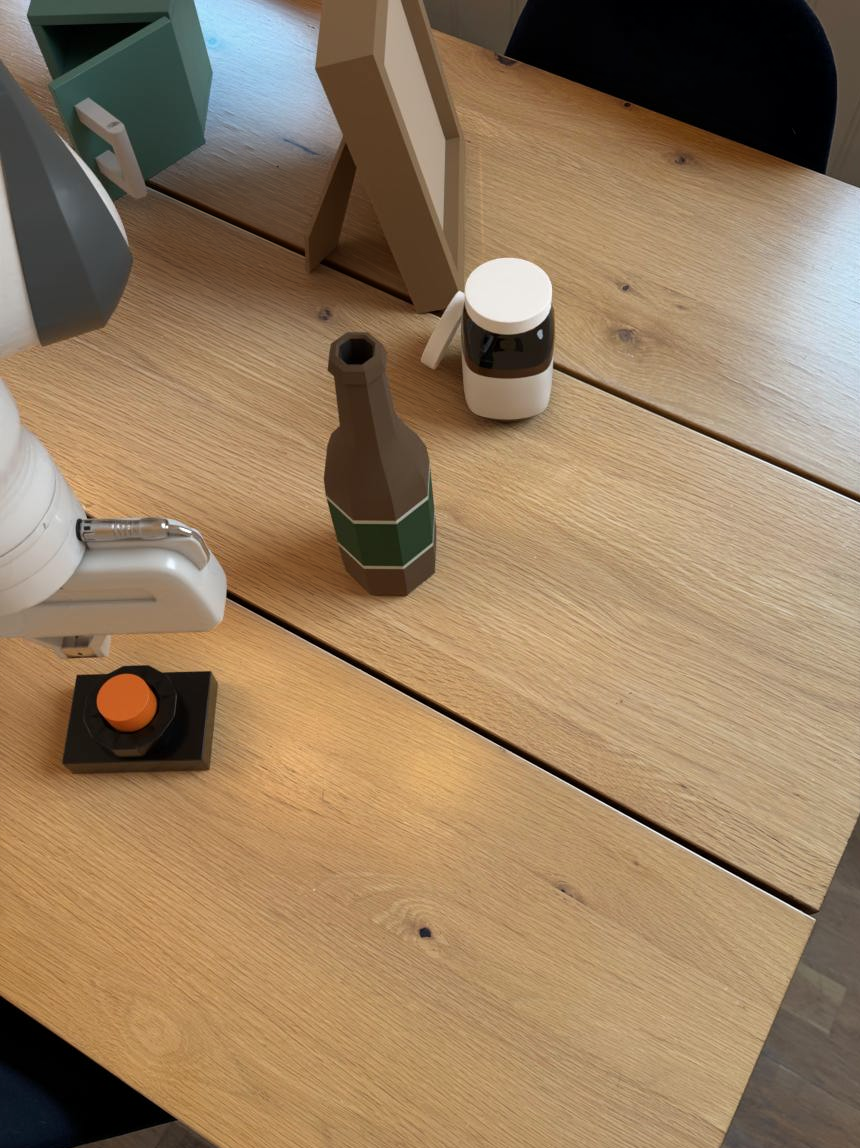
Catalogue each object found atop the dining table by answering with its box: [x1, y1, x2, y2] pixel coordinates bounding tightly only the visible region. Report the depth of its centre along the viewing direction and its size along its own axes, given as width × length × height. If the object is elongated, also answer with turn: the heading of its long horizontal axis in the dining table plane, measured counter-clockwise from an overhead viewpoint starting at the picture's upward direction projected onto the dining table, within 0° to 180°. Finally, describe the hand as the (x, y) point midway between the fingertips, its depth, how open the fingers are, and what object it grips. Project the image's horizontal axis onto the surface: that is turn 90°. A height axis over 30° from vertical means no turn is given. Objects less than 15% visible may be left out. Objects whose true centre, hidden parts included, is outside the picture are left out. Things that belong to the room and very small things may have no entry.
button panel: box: [61, 664, 219, 775], centre depth 76 cm, size 10×7×4 cm
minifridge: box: [26, 0, 214, 135], centre depth 104 cm, size 10×13×13 cm
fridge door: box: [46, 16, 207, 203], centre depth 98 cm, size 7×13×13 cm, turn 136°
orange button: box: [97, 674, 157, 732], centre depth 74 cm, size 4×4×2 cm
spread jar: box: [420, 257, 556, 422], centre depth 87 cm, size 12×11×12 cm
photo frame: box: [304, 0, 466, 315], centre depth 90 cm, size 15×22×25 cm
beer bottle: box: [323, 331, 437, 596], centre depth 73 cm, size 8×8×24 cm
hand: (87, 648), depth 66 cm, fingers closed
